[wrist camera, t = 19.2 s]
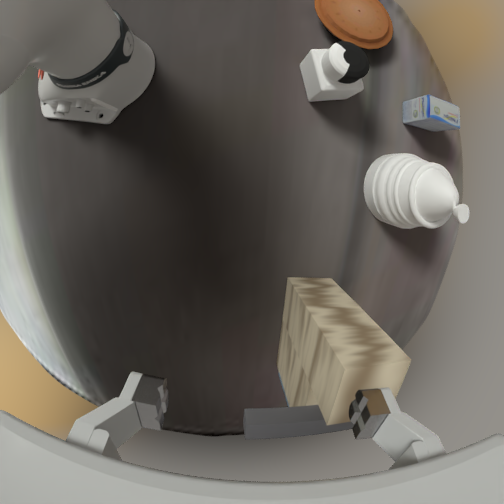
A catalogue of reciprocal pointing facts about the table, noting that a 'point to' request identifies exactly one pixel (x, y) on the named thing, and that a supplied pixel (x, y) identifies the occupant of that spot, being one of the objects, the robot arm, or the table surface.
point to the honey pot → (412, 192)
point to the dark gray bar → (287, 422)
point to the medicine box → (431, 114)
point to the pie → (356, 21)
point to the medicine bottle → (334, 72)
